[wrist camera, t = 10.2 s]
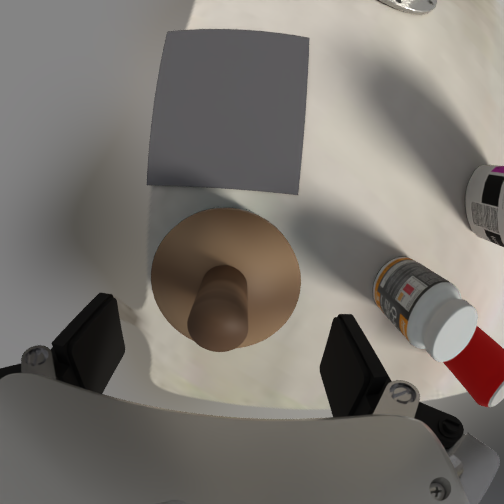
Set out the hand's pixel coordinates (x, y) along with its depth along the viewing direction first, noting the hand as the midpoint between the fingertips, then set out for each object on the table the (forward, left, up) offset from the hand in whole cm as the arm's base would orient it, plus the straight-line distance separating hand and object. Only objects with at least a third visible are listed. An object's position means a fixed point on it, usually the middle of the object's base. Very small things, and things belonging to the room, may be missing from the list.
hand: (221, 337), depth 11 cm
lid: (+1, 0, -8) cm, 8 cm away
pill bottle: (+2, +16, -12) cm, 20 cm away
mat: (-12, -1, -12) cm, 17 cm away
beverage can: (+9, +28, -12) cm, 31 cm away
